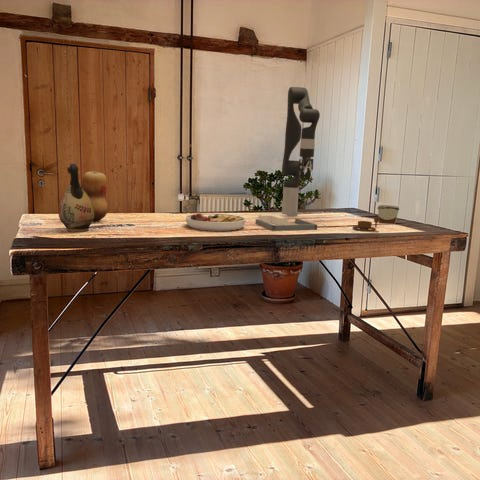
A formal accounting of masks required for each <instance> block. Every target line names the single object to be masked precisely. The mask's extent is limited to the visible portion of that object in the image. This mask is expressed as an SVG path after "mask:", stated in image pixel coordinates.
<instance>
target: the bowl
mask: <svg viewBox="0 0 480 480" xmlns="http://www.w3.org/2000/svg"><path fill="white" fill-rule="evenodd" d="M246 220H247V219H246V218H245V217H243V216H240V215H235V214H225V213H201V212H198V213H193V214H190V215H187V216H185V223H186V225H188V226H189V227H190V228H192V229H194V230H198V229H199V231H206V230H208V231H207V232H231V231H230V230H233V231H238V230H240V229H242V228H243V227H244V226H245V224H246V222H247V221H246ZM237 229H238V230H237Z"/></svg>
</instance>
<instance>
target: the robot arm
mask: <svg viewBox="0 0 480 480" xmlns="http://www.w3.org/2000/svg"><path fill="white" fill-rule="evenodd" d="M310 101H311V100H310V96H309V91H308V89H307V88H306V87H300V86H291V87H289V88H288V91H287V111H286V112H287V113H286V124H285V133H284V138H285V139H284V152H283V156H282V157H283V158H282V165H281V173H282V175H283V176H288V177H293V178H291V179H290V180H287V181H284V183H283V190H282V193H283V194H282V195H283V196H282V206H281V207H282V208H281V214H285V215H287V217H297V216H298V205H299V191H300V189H299V188H300V187H299V186H300V180H304V179H305V177H306V179H310V178H311V173H312V170H314V159H313V158H314V157H315V138H316V129H317V125H318V123H319V120H320V116H321V114H320V111H319V109H318V108H313V106H312V104H311V102H310ZM294 104H295V105H297V108H298V111H299V114H298V115H299V117H298V116H297V115H296V111H295V107H294V106H295V105H294ZM300 122H302V123H305V124H306V123H307V124H308V123H309V124H310V126H307V127H306V126H305V127H303V128H302V124H301V123H300ZM299 143H300V145H299V157H300V158H299V160H290V157H291V154H292V153H293V151H294V150H295V148H296V147H297V146H298V144H299ZM305 171H306V173H305ZM305 174H306V175H305Z"/></svg>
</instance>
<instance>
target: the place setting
mask: <svg viewBox="0 0 480 480" xmlns="http://www.w3.org/2000/svg"><path fill="white" fill-rule="evenodd" d="M373 222H374V223H375V224H374V227H372V223H373ZM373 222H372V221H368V220H359V221H357V225H354V226H352V230H354V231H355V232H364V231H365V232H366V233H367V232H369V233H370V234H371V233H375V234H376V233H378V234H379V233H380V231H377V225H378V224H379V218H378V217H377V216H376V217H373ZM365 232H364V233H365Z"/></svg>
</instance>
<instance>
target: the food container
mask: <svg viewBox="0 0 480 480" xmlns="http://www.w3.org/2000/svg"><path fill="white" fill-rule="evenodd" d="M399 207H400V206H397V205H386V204H380V205H378V206H377V211H378V212H377V213H378V218H379V221H378V224H387V225H396V223H397V219H398V218H397V217H398V213H399V211H400V208H399Z"/></svg>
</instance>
